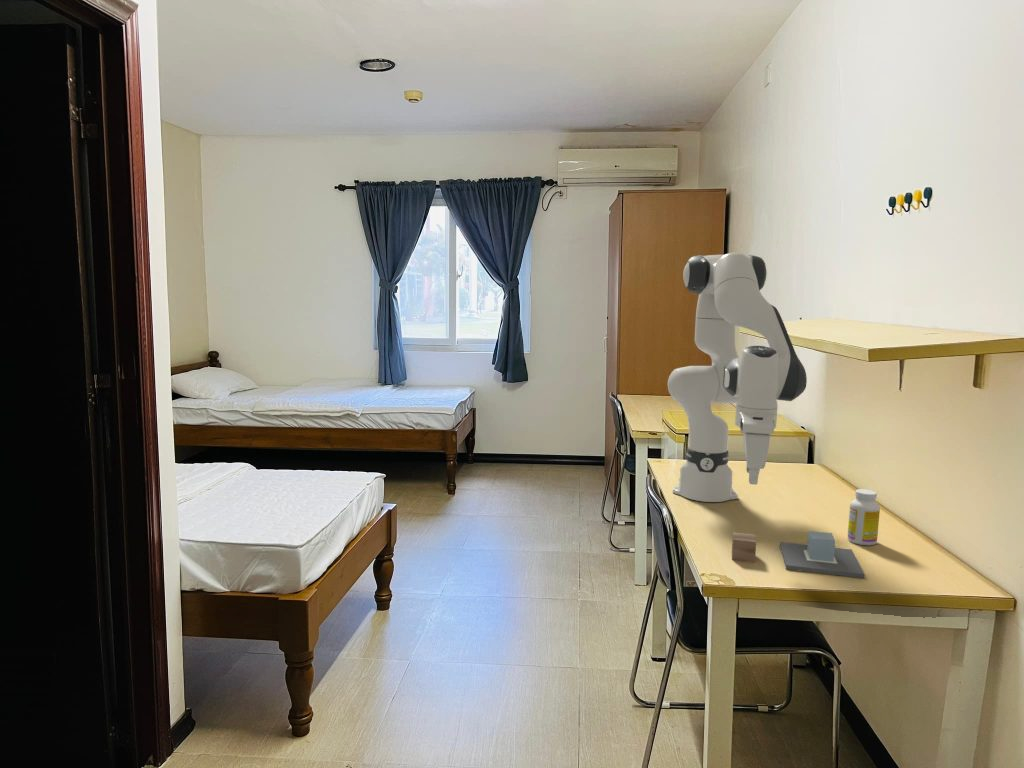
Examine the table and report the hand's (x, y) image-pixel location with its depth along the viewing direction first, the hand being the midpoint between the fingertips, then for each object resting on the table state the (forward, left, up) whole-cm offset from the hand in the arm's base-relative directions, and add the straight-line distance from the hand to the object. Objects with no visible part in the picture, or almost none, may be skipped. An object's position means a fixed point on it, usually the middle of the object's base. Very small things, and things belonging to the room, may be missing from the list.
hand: (751, 477), depth 164 cm
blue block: (-3, +16, -18) cm, 24 cm away
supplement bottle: (-20, +28, -19) cm, 40 cm away
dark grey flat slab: (-3, +16, -19) cm, 25 cm away
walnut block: (0, -1, -19) cm, 19 cm away
